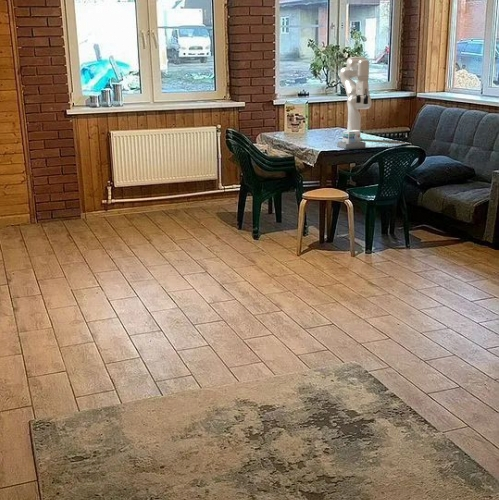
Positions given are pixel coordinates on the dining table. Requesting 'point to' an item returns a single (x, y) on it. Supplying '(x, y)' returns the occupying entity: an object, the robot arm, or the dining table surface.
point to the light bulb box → (351, 136)
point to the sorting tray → (351, 145)
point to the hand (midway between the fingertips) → (361, 103)
